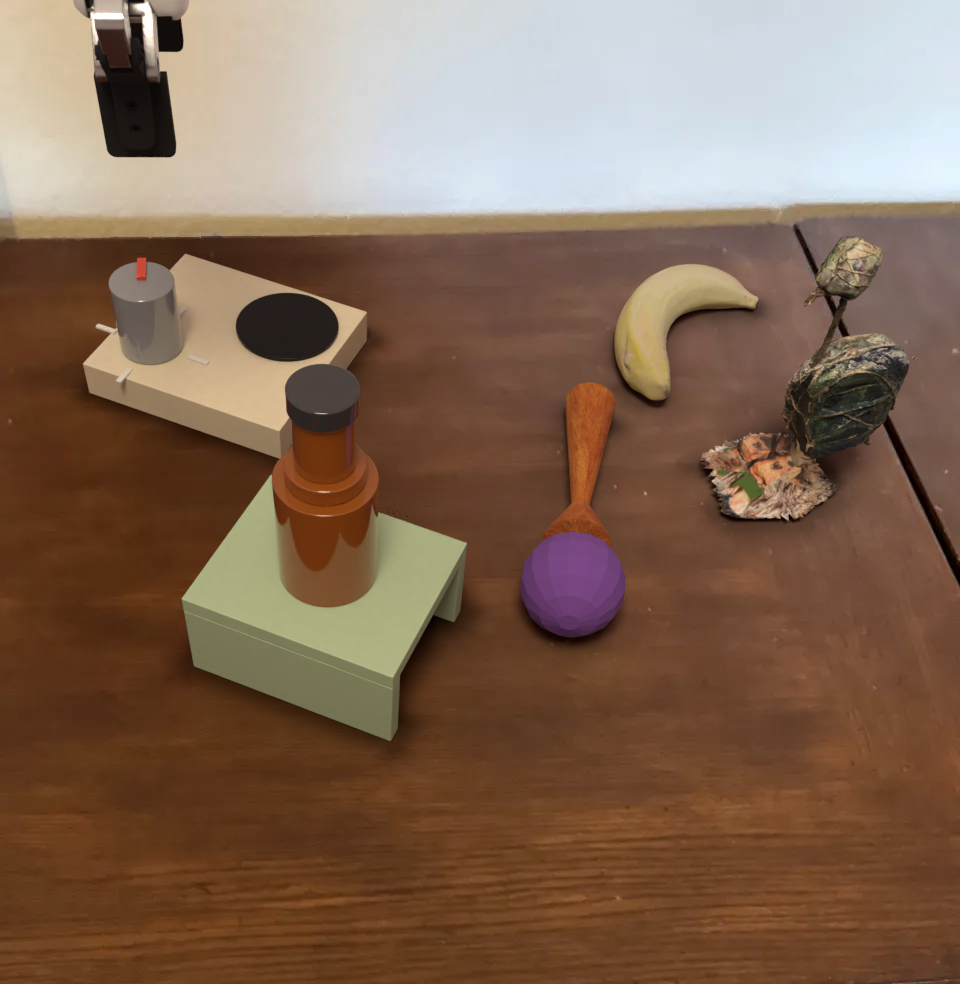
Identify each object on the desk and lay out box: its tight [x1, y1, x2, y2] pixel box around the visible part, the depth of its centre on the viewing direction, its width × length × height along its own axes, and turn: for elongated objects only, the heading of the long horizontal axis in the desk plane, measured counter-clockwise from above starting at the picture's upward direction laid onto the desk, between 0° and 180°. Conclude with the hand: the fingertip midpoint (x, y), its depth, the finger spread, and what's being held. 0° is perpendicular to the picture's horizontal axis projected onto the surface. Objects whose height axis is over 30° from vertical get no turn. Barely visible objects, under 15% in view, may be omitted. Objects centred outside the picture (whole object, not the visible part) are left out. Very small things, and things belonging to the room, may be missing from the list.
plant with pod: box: [699, 235, 918, 522], centre depth 74 cm, size 8×11×20 cm
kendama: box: [519, 381, 627, 638], centre depth 76 cm, size 6×6×20 cm
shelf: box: [181, 474, 468, 742], centre depth 69 cm, size 12×10×6 cm
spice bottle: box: [271, 364, 380, 607], centre depth 62 cm, size 5×5×13 cm
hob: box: [82, 253, 368, 460], centre depth 84 cm, size 15×14×3 cm
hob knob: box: [107, 257, 183, 365], centre depth 80 cm, size 4×4×5 cm
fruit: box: [613, 263, 759, 401], centre depth 89 cm, size 7×15×3 cm, turn 145°
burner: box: [236, 293, 339, 362], centre depth 84 cm, size 7×7×1 cm
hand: (148, 99), depth 63 cm, fingers open, 9 cm apart
